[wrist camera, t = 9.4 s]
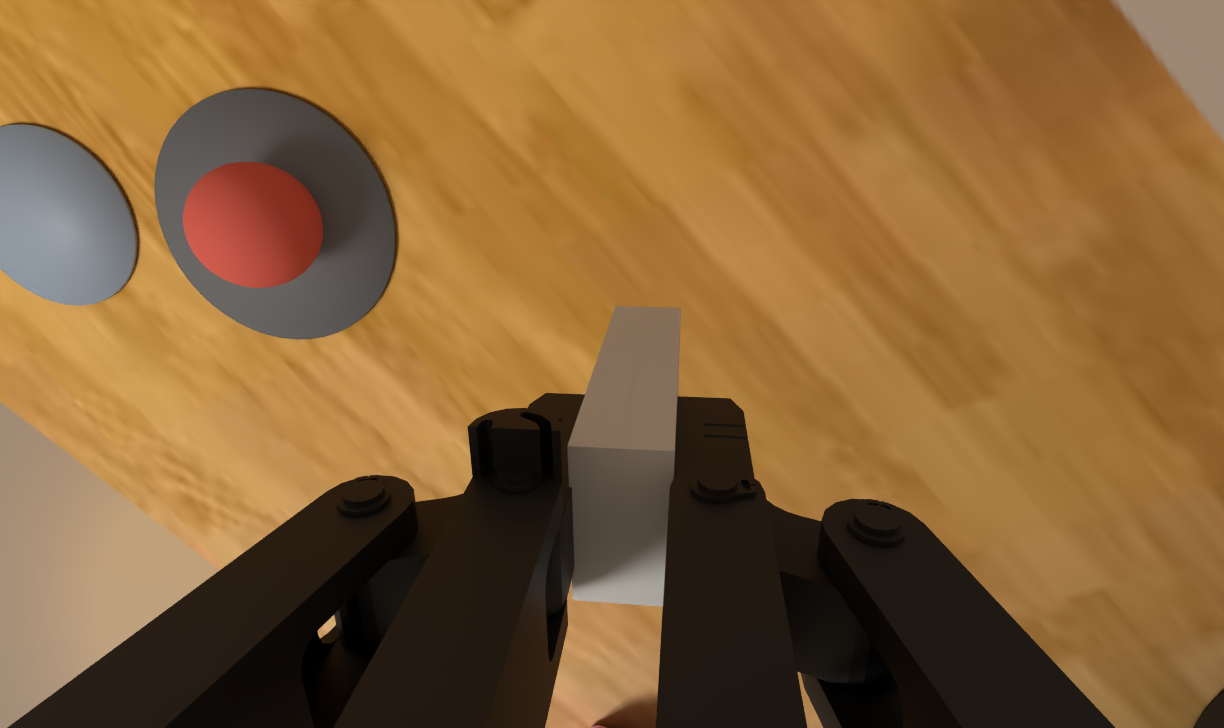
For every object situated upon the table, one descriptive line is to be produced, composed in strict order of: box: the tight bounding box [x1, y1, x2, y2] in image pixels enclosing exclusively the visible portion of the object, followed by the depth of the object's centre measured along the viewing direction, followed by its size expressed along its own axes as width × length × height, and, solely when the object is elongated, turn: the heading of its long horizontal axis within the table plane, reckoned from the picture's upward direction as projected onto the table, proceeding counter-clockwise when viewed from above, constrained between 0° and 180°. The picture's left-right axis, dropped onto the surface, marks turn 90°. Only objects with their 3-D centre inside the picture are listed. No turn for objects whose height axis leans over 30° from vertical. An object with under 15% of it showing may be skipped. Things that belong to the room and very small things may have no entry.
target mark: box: [155, 89, 396, 339], centre depth 33 cm, size 12×12×1 cm
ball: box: [183, 162, 323, 288], centre depth 30 cm, size 6×6×6 cm
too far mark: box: [0, 124, 138, 305], centre depth 34 cm, size 9×9×1 cm
